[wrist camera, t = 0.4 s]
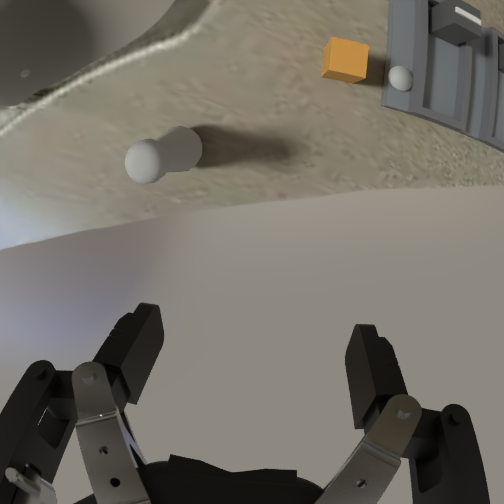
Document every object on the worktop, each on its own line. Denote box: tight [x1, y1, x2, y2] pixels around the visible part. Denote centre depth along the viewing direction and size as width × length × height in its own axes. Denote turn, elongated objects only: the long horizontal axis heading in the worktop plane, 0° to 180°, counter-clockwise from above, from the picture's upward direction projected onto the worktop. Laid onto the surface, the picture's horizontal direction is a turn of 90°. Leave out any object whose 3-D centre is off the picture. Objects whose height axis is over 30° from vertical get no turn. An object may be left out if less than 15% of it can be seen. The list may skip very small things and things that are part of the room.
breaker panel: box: [381, 0, 504, 153], centre depth 24 cm, size 18×26×4 cm
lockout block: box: [321, 37, 369, 84], centre depth 27 cm, size 4×4×6 cm
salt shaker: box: [125, 126, 202, 184], centre depth 30 cm, size 6×6×13 cm
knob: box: [429, 0, 482, 45], centre depth 19 cm, size 4×4×7 cm
